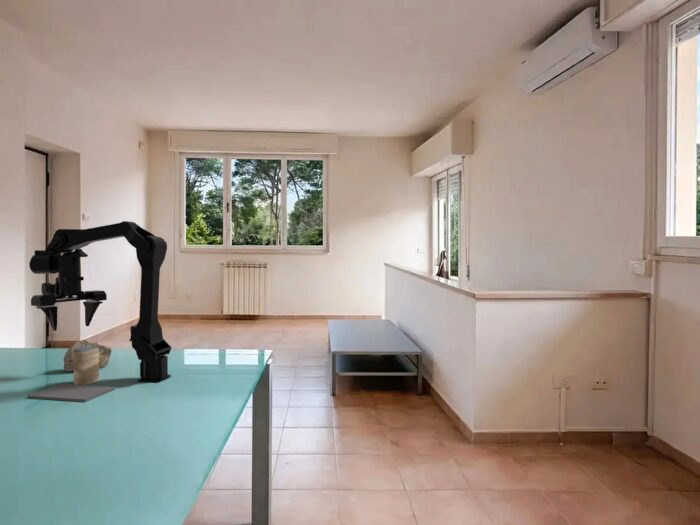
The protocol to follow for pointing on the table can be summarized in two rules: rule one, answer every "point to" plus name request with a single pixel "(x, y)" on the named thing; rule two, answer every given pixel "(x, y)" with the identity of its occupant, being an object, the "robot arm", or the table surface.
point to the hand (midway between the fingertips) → (71, 328)
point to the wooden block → (86, 365)
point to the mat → (72, 392)
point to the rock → (103, 351)
